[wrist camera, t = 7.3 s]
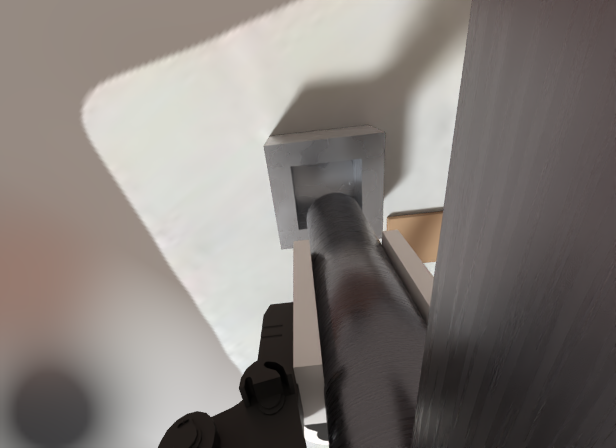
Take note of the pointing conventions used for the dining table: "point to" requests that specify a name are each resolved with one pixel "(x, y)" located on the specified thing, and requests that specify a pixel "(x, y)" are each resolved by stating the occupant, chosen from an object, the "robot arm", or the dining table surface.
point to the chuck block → (325, 175)
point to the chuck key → (491, 257)
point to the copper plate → (419, 232)
